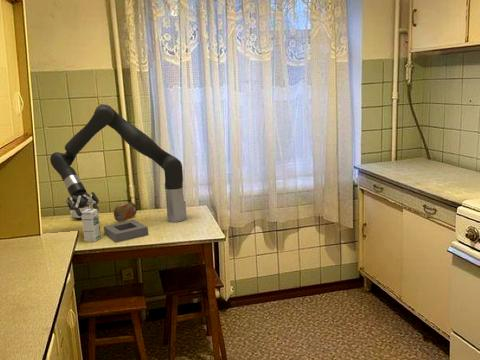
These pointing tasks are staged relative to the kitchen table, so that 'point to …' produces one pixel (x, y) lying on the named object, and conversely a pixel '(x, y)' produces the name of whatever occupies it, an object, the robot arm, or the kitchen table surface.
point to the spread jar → (82, 208)
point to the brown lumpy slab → (125, 212)
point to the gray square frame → (125, 230)
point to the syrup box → (91, 225)
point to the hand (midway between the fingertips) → (89, 213)
